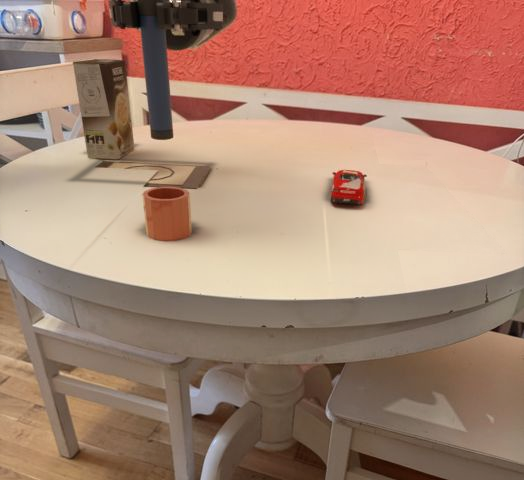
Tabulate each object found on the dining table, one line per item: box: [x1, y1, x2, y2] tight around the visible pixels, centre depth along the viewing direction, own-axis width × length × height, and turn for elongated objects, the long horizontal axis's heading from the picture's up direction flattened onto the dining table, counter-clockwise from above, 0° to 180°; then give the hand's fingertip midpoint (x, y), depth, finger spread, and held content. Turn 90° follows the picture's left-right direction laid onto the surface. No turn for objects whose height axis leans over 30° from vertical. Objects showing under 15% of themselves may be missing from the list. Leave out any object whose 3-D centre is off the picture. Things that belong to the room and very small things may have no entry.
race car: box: [330, 169, 368, 205], centre depth 79 cm, size 13×5×4 cm, turn 169°
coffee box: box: [72, 58, 135, 160], centre depth 94 cm, size 9×6×16 cm
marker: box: [137, 0, 174, 141], centre depth 55 cm, size 3×3×14 cm
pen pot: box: [141, 187, 193, 242], centre depth 63 cm, size 6×6×6 cm
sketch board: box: [95, 160, 212, 190], centre depth 86 cm, size 20×14×1 cm
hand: (144, 15), depth 49 cm, fingers closed on marker, 2 cm apart
